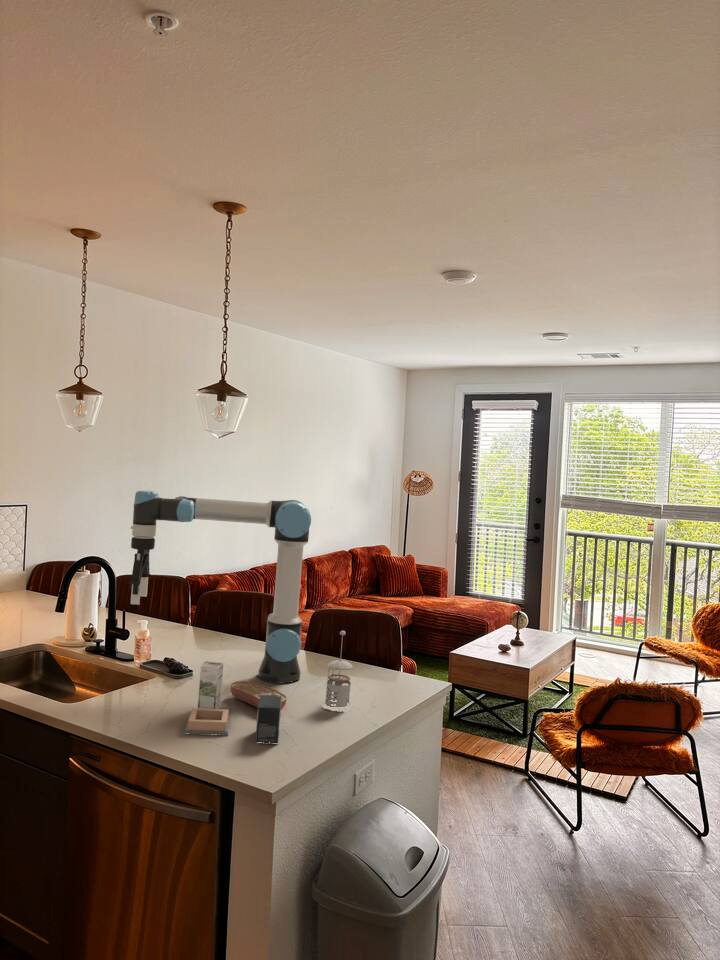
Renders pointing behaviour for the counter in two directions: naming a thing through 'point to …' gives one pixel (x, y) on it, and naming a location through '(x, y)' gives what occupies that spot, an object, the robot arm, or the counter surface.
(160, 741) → the counter surface
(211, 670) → the syrup box
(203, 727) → the pink square open tray
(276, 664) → the robot arm
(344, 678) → the french press
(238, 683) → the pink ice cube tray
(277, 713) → the small box
